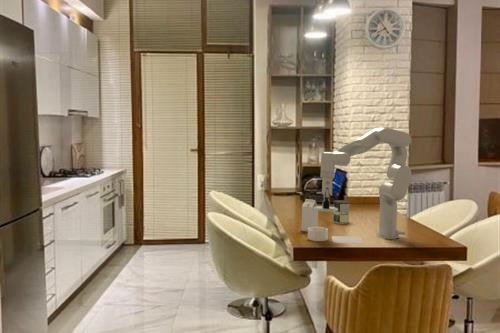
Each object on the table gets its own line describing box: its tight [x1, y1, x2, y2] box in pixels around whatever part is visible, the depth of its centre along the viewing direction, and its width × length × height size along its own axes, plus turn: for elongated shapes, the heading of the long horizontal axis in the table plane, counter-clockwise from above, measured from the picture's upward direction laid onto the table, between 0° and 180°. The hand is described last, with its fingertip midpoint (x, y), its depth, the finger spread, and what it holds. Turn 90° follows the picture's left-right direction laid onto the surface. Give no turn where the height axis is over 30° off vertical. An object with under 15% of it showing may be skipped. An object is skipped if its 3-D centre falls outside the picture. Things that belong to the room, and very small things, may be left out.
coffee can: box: [332, 199, 350, 225], centre depth 323 cm, size 10×10×14 cm
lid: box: [314, 199, 338, 213], centre depth 270 cm, size 13×13×5 cm
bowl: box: [307, 226, 329, 242], centre depth 272 cm, size 11×11×6 cm
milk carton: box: [301, 198, 319, 233], centre depth 294 cm, size 7×7×19 cm
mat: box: [331, 235, 364, 245], centre depth 270 cm, size 16×16×1 cm
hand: (325, 207), depth 270 cm, fingers closed on lid, 4 cm apart
